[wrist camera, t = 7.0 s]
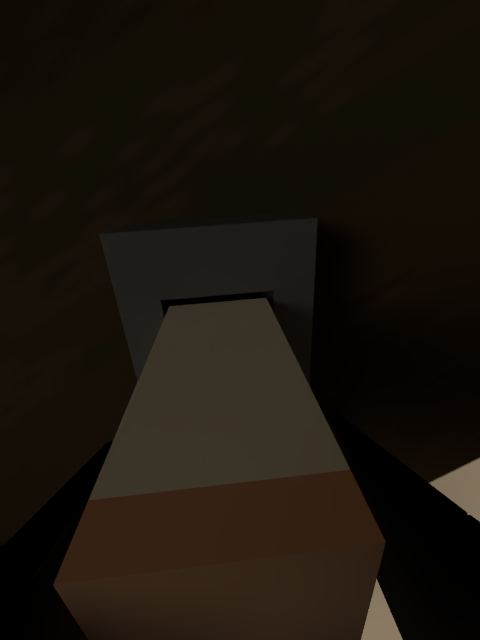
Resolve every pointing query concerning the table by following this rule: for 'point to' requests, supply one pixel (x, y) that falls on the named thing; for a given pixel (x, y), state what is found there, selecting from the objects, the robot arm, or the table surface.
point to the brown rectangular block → (223, 498)
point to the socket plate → (214, 272)
